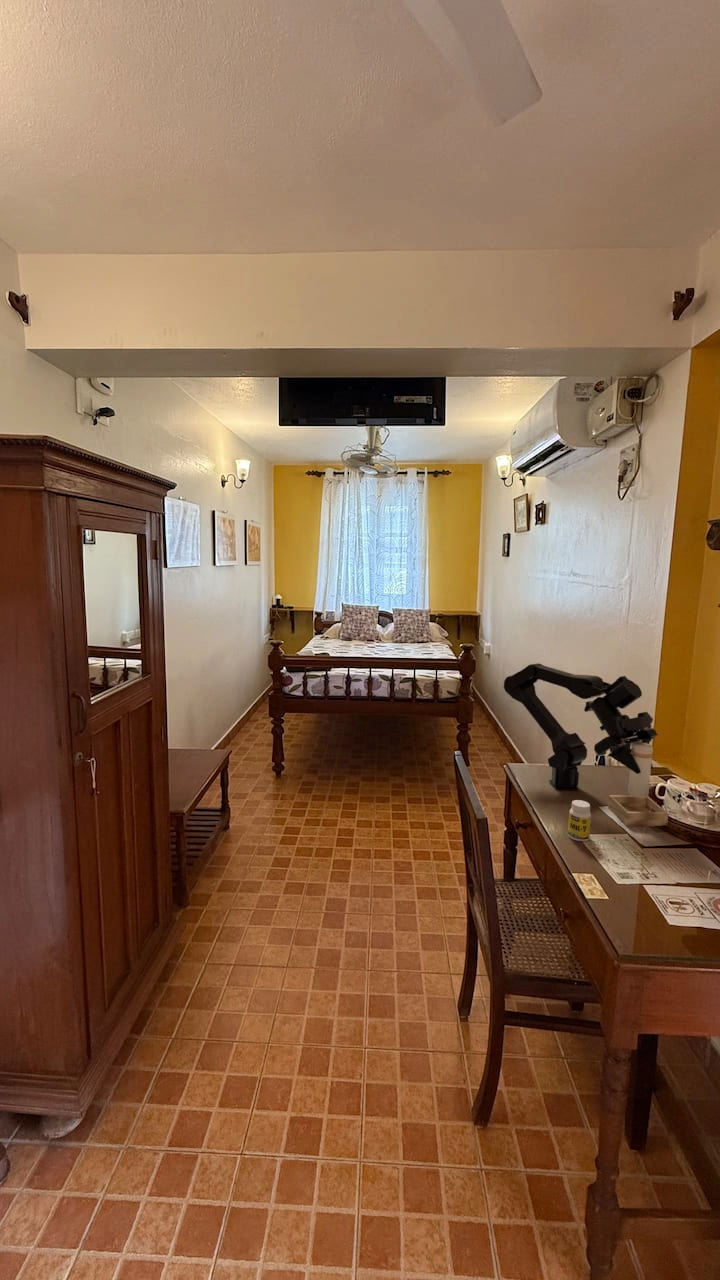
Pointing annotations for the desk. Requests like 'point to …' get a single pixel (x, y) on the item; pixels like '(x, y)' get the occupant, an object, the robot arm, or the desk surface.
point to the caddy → (637, 811)
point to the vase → (641, 780)
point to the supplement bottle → (579, 820)
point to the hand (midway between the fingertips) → (645, 771)
